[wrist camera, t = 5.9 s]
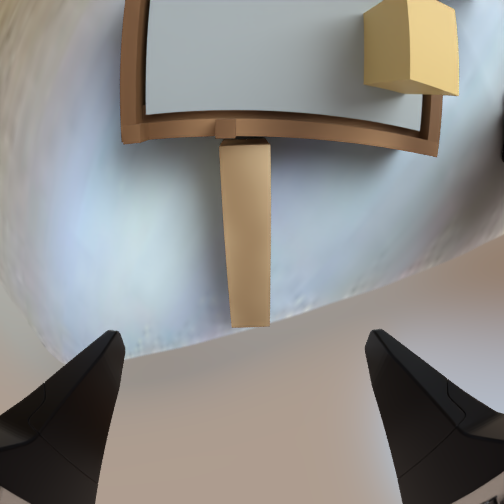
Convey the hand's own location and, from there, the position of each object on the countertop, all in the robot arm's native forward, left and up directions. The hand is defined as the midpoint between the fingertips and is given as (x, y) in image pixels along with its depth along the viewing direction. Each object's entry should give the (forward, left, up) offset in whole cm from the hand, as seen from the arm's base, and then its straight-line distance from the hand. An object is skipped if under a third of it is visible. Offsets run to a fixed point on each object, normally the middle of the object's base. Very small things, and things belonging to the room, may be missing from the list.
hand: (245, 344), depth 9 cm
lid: (-2, -11, -7) cm, 13 cm away
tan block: (0, 0, -10) cm, 10 cm away
